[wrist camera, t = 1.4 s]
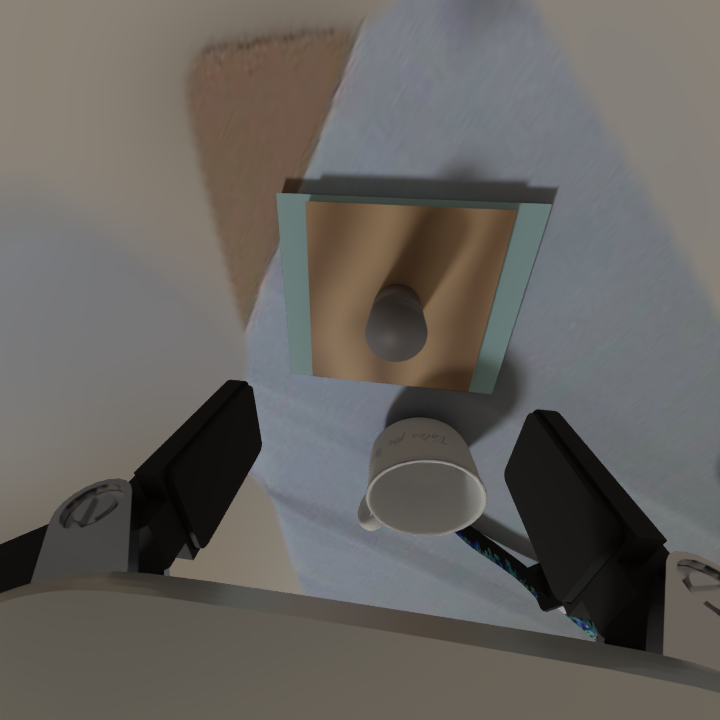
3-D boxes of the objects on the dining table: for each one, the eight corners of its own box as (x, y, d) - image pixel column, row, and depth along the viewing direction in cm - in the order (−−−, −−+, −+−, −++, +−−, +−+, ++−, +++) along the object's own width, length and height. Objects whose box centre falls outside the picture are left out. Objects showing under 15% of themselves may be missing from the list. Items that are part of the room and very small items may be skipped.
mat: (545, 204, 20) (552, 204, 19) (488, 388, 27) (491, 394, 27) (281, 193, 22) (276, 192, 21) (294, 369, 29) (291, 373, 28)
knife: (601, 612, 40) (621, 653, 36) (581, 617, 41) (598, 658, 37) (452, 485, 37) (456, 515, 33) (435, 495, 38) (437, 525, 34)
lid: (512, 210, 20) (563, 207, 14) (466, 387, 27) (486, 436, 21) (308, 201, 21) (272, 194, 15) (314, 372, 28) (291, 413, 22)
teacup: (439, 387, 28) (452, 443, 21) (484, 456, 31) (509, 525, 24) (333, 437, 33) (315, 496, 26) (382, 492, 36) (378, 558, 29)
